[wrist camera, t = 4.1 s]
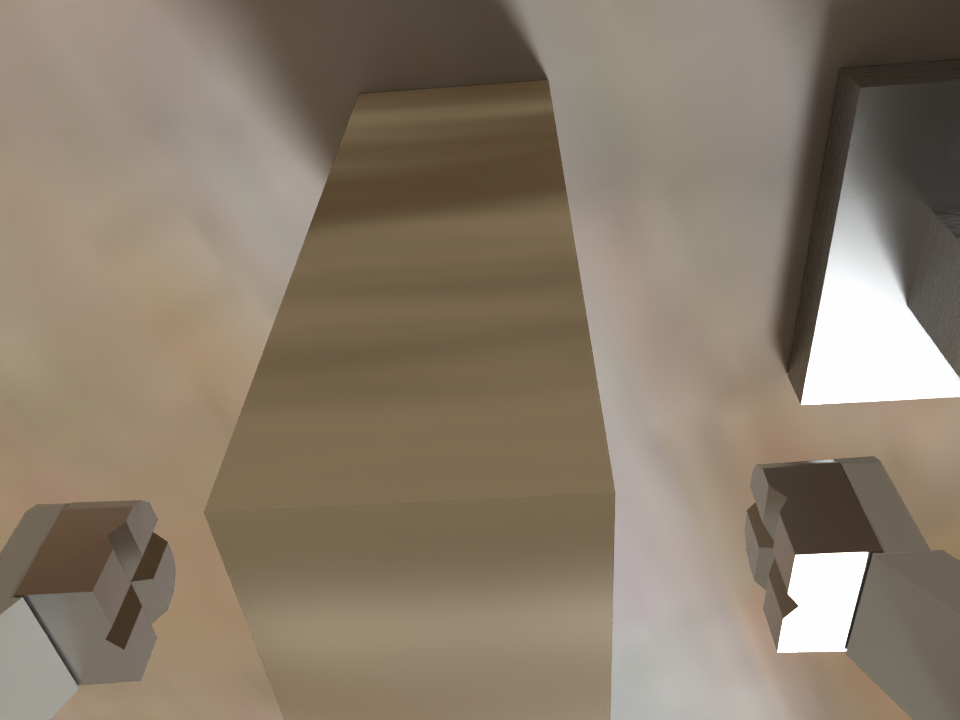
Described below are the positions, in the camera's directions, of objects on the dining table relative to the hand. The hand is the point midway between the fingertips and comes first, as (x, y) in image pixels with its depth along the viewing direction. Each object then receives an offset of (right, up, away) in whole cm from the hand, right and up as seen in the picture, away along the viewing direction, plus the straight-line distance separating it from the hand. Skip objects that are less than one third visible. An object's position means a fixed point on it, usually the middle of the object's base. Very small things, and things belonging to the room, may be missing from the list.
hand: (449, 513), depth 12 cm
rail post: (0, +6, +7) cm, 10 cm away
